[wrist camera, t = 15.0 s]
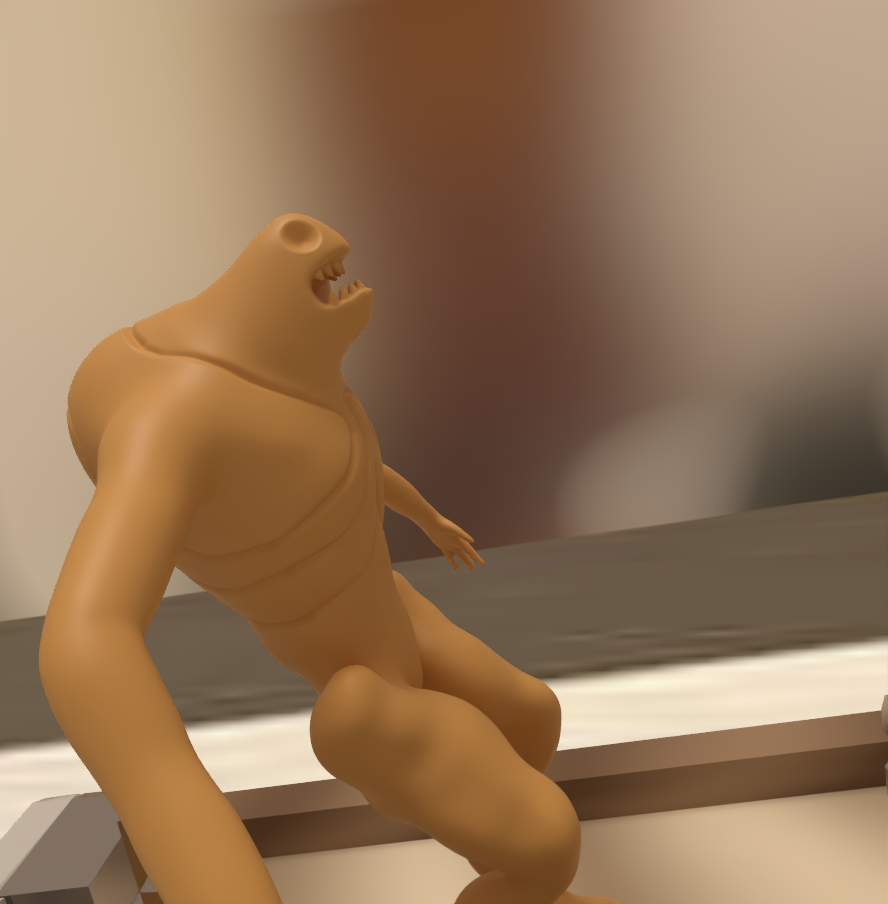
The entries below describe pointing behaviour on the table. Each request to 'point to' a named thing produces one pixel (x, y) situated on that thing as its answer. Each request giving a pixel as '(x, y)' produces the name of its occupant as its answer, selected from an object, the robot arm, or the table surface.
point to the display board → (628, 824)
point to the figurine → (283, 591)
